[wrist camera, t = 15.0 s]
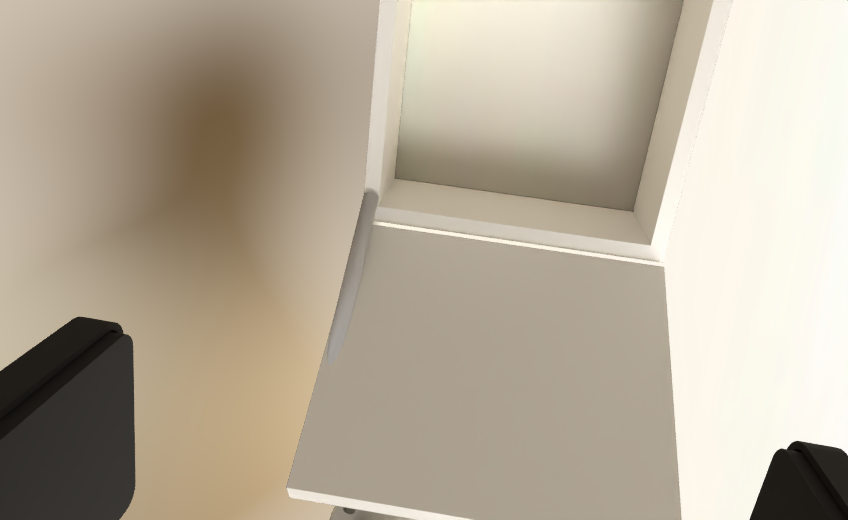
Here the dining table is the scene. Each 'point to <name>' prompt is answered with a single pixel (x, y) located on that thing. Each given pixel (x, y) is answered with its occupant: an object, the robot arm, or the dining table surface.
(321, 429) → the case
